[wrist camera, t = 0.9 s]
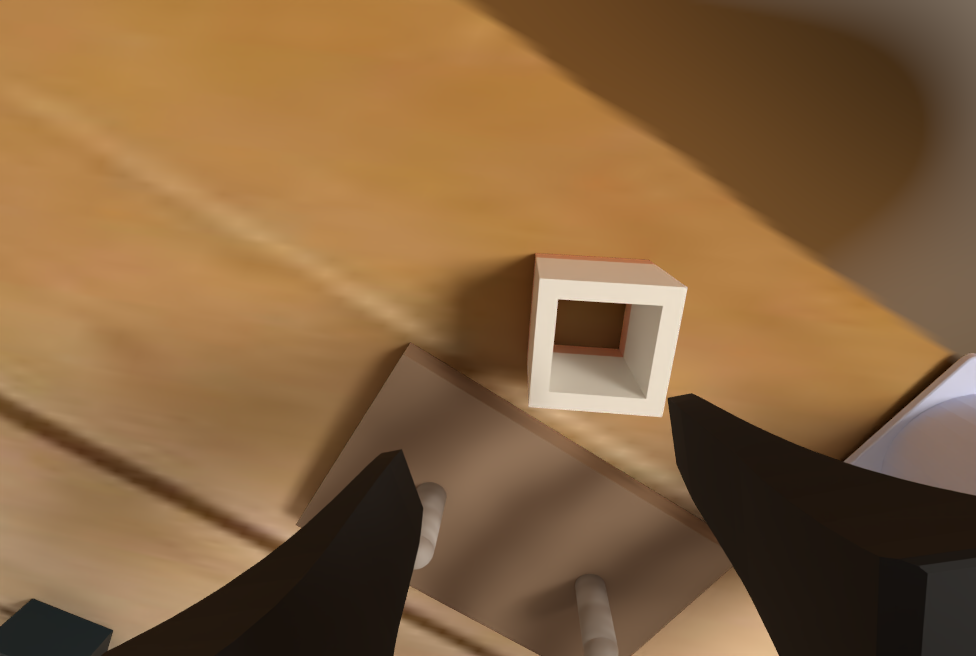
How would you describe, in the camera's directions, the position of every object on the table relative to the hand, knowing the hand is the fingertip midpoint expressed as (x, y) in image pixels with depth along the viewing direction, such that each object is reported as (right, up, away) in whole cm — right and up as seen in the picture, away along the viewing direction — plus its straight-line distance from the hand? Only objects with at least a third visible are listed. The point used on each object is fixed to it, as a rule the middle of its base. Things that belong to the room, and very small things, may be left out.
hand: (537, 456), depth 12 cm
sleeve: (+3, +4, +9) cm, 10 cm away
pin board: (0, -7, +13) cm, 15 cm away
